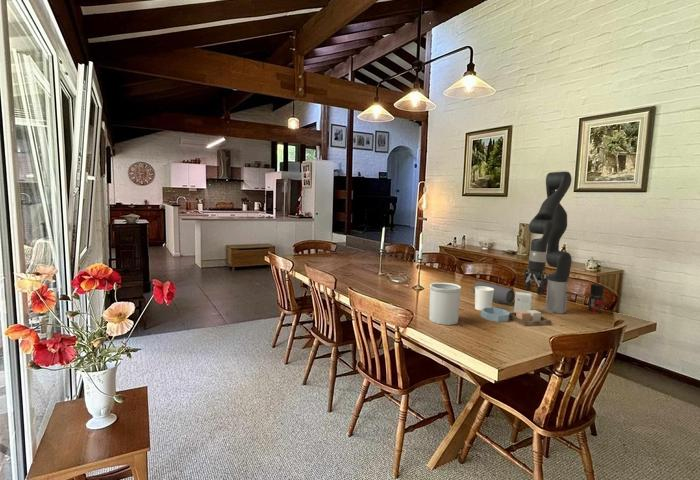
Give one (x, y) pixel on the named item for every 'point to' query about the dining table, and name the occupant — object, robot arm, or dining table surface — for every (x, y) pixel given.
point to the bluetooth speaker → (498, 292)
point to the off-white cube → (534, 315)
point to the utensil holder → (444, 303)
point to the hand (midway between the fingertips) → (533, 292)
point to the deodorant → (596, 298)
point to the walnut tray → (530, 323)
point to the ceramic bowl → (495, 314)
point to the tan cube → (523, 315)
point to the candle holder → (483, 297)
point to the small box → (522, 301)
